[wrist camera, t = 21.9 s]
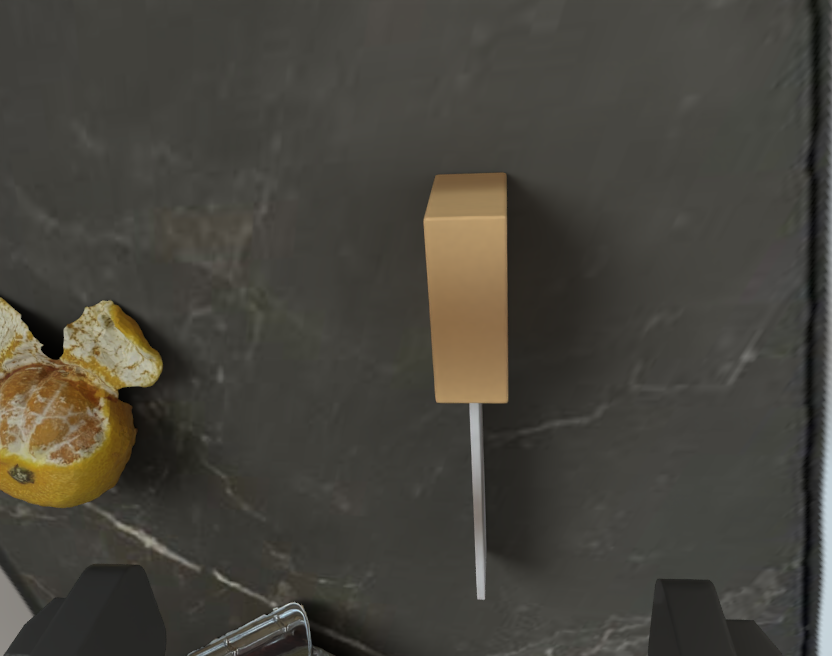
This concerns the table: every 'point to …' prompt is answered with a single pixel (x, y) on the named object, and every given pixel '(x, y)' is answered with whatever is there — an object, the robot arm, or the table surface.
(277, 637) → the chocolate cake
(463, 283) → the knife
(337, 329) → the table surface
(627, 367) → the table surface
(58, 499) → the fruit
